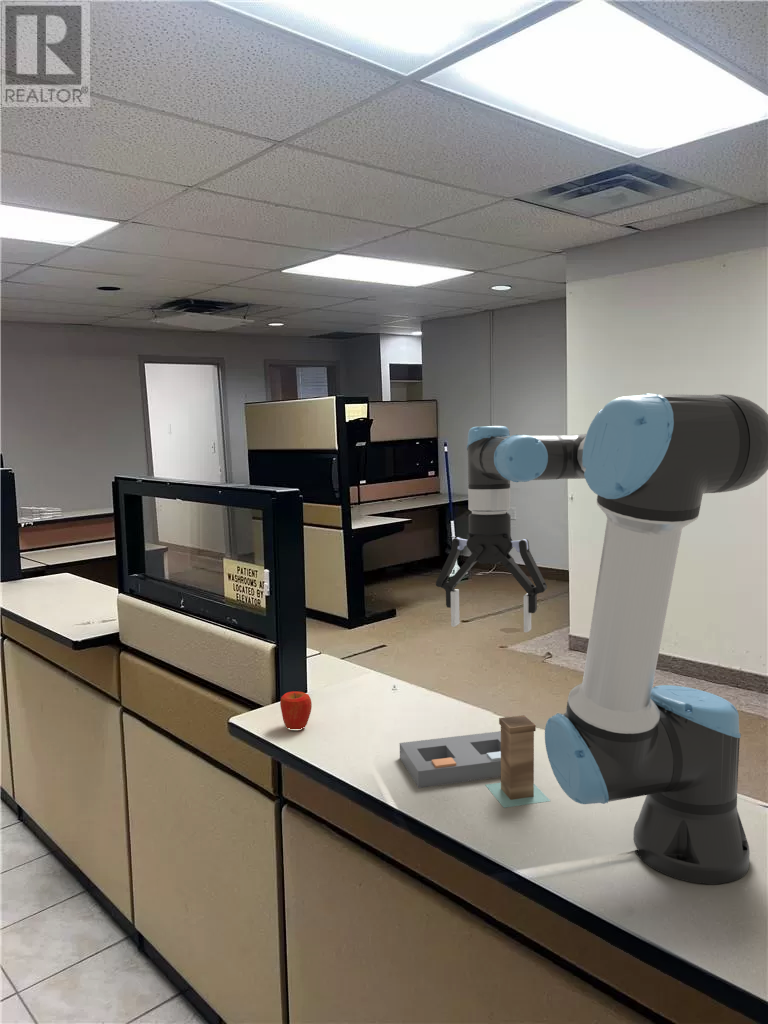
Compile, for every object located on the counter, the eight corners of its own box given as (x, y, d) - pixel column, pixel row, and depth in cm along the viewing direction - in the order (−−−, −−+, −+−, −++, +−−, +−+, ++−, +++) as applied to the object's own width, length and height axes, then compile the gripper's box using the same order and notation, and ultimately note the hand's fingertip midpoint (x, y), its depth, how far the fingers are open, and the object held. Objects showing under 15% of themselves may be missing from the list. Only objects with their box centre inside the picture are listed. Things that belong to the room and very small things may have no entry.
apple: (315, 723, 155) (315, 689, 154) (305, 735, 149) (304, 699, 148) (287, 721, 157) (286, 687, 156) (276, 732, 151) (275, 697, 150)
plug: (535, 797, 120) (535, 725, 118) (509, 800, 119) (509, 727, 117) (523, 784, 124) (524, 715, 123) (499, 788, 123) (499, 717, 122)
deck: (550, 807, 118) (550, 800, 118) (503, 814, 117) (503, 807, 116) (529, 785, 126) (529, 778, 126) (485, 791, 124) (485, 784, 124)
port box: (529, 779, 128) (529, 755, 128) (418, 794, 124) (418, 769, 123) (502, 751, 140) (502, 728, 140) (399, 764, 135) (399, 740, 135)
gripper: (563, 511, 133) (563, 628, 134) (431, 509, 143) (433, 618, 145) (554, 514, 126) (555, 637, 128) (417, 513, 136) (419, 627, 138)
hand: (490, 627), depth 136 cm, fingers open, 13 cm apart
